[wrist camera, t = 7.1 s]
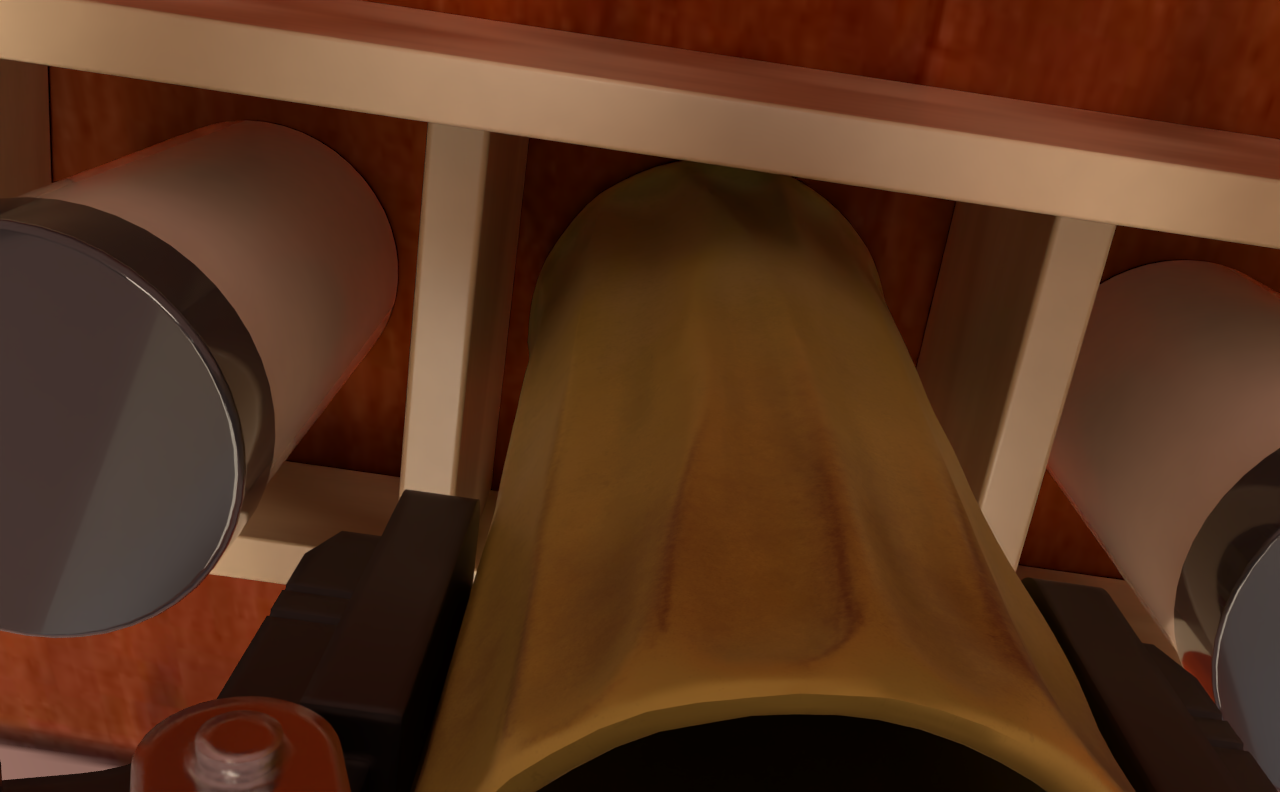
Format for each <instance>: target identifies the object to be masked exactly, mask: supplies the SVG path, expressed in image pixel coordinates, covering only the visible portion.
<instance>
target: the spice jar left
mask: <svg viewBox="0 0 1280 792" xmlns="http://www.w3.org/2000/svg"><path fill="white" fill-rule="evenodd" d="M397 284H398V260H397V252H396V245H395V241H394V237H393V234H392V230H391V227H390V224H389V222H388V219H387V217H386V214H385V212H384V210H383V208H382V206H381V204H380V203H379V201H378V199H377V197H376V195H375V194H374V192H373V191H372V190H371V188H370V187H369V186H368V184H367V183H366V181H365V180H364V179H363V178H362V176H361V175H360V174H359V173H358V172H357V171H356V170H355V169H354V168H353V167H352V166H351V165H350V164H349V163H348V162H347V161H346V160H344V159H343V158H342V157H341V156H340V155H339V154H337V153H336V152H335V151H333V150H332V149H330V148H329V147H327V146H326V145H324V144H323V143H321V142H320V141H318V140H316V139H314V138H312V137H310V136H308V135H306V134H304V133H302V132H299V131H296V130H294V129H291V128H288V127H285V126H282V125H277V124H272V123H268V122H261V121H249V120H241V121H226V122H221V123H215V124H210V125H207V126H204V127H201V128H198V129H195V130H192V131H190V132H187V133H184V134H182V135H179V136H176V137H174V138H171V139H168V140H166V141H163V142H160V143H158V144H155V145H152V146H150V147H147V148H144V149H142V150H139V151H136V152H134V153H131V154H128V155H126V156H123V157H120V158H118V159H115V160H112V161H110V162H107V163H104V164H102V165H99V166H96V167H94V168H91V169H88V170H86V171H83V172H80V173H78V174H75V175H72V176H70V177H67V178H64V179H62V180H59V181H56V182H54V183H51V184H48V185H46V186H43V187H40V188H38V189H35V190H32V191H30V192H27V193H24V194H22V195H19V196H16V197H14V198H0V631H6V632H11V633H16V634H21V635H26V636H38V637H50V638H64V637H84V636H91V635H97V634H104V633H109V632H112V631H116V630H119V629H123V628H126V627H130V626H133V625H136V624H138V623H141V622H143V621H145V620H148V619H150V618H152V617H154V616H157V615H159V614H161V613H162V612H164V611H165V610H167V609H169V608H170V607H172V606H174V605H175V604H177V603H178V602H180V601H181V600H182V599H184V598H185V597H186V596H187V595H188V594H189V593H191V592H192V591H193V590H194V589H195V588H197V587H198V586H199V585H200V584H201V582H202V581H203V580H204V579H205V578H206V577H207V576H208V574H209V573H210V572H211V571H212V570H213V569H214V568H215V566H216V565H217V564H218V562H219V561H220V560H221V558H222V557H223V556H224V554H225V553H226V552H227V550H228V549H229V548H230V546H231V545H232V544H233V542H234V541H235V540H236V538H237V537H238V536H239V534H240V533H241V532H242V530H243V529H244V528H245V526H246V524H247V523H248V521H249V520H250V518H251V517H252V515H253V513H254V512H255V510H256V509H257V507H258V505H259V502H260V500H261V498H262V495H263V493H264V491H265V488H266V486H267V484H268V483H269V481H270V480H271V479H272V477H273V476H274V475H275V473H276V472H277V471H278V470H279V468H280V467H281V466H282V464H283V463H284V462H285V460H286V459H287V458H288V456H289V455H290V454H291V453H292V451H293V450H294V449H295V447H296V446H297V445H298V443H299V442H300V441H301V440H302V438H303V437H304V436H305V434H306V433H307V432H308V430H309V429H310V428H311V426H312V425H313V424H314V423H315V421H316V420H317V419H318V417H319V416H320V415H321V413H322V412H323V411H324V410H325V408H326V407H327V406H328V404H329V403H330V402H331V400H332V399H333V398H334V397H335V395H336V394H337V393H338V391H339V390H340V389H341V387H342V386H343V385H344V383H345V382H346V381H347V380H348V378H349V377H350V376H351V374H352V373H353V372H354V370H355V369H356V368H357V367H358V365H359V364H360V363H361V361H362V360H363V359H364V357H365V356H366V355H367V353H368V352H369V351H370V350H371V348H372V347H373V346H374V344H375V343H376V341H377V340H378V338H379V337H380V335H381V334H382V332H383V330H384V329H385V326H386V324H387V322H388V320H389V317H390V315H391V312H392V309H393V305H394V302H395V298H396V291H397Z"/></svg>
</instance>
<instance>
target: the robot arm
mask: <svg viewBox="0 0 1280 792" xmlns="http://www.w3.org/2000/svg"><path fill="white" fill-rule="evenodd" d="M479 521H480V500H479V499H473V498H466V497H458V496H451V495H444V494H437V493H430V492H423V491H415V490H408V489H405V490H404V491H403V493H402V495H401V497H400V499H399V501H398V503H397V505H396V507H395V509H394V511H393V513H392V515H391V517H390V519H389V521H388V523H387V526H386V528H385V530H384V532H383V534H382V536H377V535H370V534H363V533H356V532H349V531H341V532H339V533H337V534H336V535H334V536H333V537H331V538H329V539H328V540H326V541H324V542H323V543H321V544H319V545H318V546H316V547H315V548H313V549H311V550H310V551H308V552H306V553H305V554H304V555H303V557H302V559H301V560H300V562H299V564H298V565H297V567H296V569H295V570H294V572H293V574H292V575H291V577H290V579H289V580H288V582H287V584H286V589H285V590H282V592H281V594H280V595H279V597H278V598H277V600H276V602H275V603H274V605H273V607H272V608H271V613H270V616H267V617H266V618H265V620H264V622H263V623H262V625H261V627H260V628H259V630H258V632H257V633H256V635H255V637H254V638H253V640H252V641H251V643H250V645H249V646H248V648H247V650H246V651H245V653H244V655H243V656H242V658H241V660H240V661H239V663H238V665H237V666H236V668H235V670H234V671H233V673H232V675H231V676H230V678H229V680H228V681H227V683H226V684H225V686H224V688H223V689H222V691H221V693H220V694H219V696H218V698H217V699H216V700H211V701H207V702H203V703H199V704H197V705H194V706H191V707H188V708H186V709H183V710H181V711H179V712H177V713H175V714H173V715H171V716H169V717H168V718H166V719H165V720H163V721H162V722H160V723H159V724H157V725H156V726H155V727H154V728H153V729H152V730H151V731H149V732H148V733H147V734H146V735H145V737H144V738H143V739H142V741H141V742H140V743H139V745H138V746H137V748H136V751H135V753H134V755H133V758H132V763H131V764H128V765H125V766H121V767H117V768H112V769H108V770H104V771H96V772H88V773H81V774H69V775H59V776H47V777H36V778H24V779H13V780H2V775H1V762H0V792H410V790H411V787H412V783H413V780H414V777H415V774H416V770H417V767H418V764H419V761H420V758H421V754H422V751H423V748H424V745H425V742H426V739H427V735H428V732H429V729H430V726H431V723H432V720H433V717H434V714H435V711H436V708H437V705H438V702H439V699H440V696H441V692H442V689H443V686H444V683H445V679H446V676H447V673H448V670H449V666H450V663H451V660H452V656H453V653H454V649H455V645H456V642H457V638H458V635H459V631H460V628H461V624H462V621H463V617H464V614H465V610H466V607H467V603H468V600H469V596H470V592H471V589H472V585H473V578H474V569H475V560H476V550H477V541H478V531H479ZM1021 582H1022V584H1023V585H1024V587H1025V588H1026V590H1027V592H1028V593H1029V595H1030V596H1031V598H1032V599H1033V601H1034V603H1035V604H1036V606H1037V607H1038V609H1039V611H1040V612H1041V614H1042V615H1043V617H1044V619H1045V620H1046V622H1047V624H1048V625H1049V627H1050V629H1051V630H1052V632H1053V634H1054V636H1055V637H1056V639H1057V641H1058V643H1059V645H1060V646H1061V648H1062V650H1063V652H1064V654H1065V656H1066V658H1067V660H1068V661H1069V663H1070V665H1071V667H1072V669H1073V671H1074V673H1075V675H1076V677H1077V679H1078V681H1079V684H1080V686H1081V688H1082V691H1083V693H1084V695H1085V698H1086V700H1087V702H1088V705H1089V707H1090V710H1091V712H1092V714H1093V717H1094V719H1095V722H1096V724H1097V726H1098V729H1099V731H1100V733H1101V735H1102V737H1103V738H1104V740H1105V742H1106V744H1107V746H1108V748H1109V750H1110V751H1111V753H1112V755H1113V757H1114V759H1115V760H1116V762H1117V763H1118V765H1119V767H1120V768H1121V770H1122V771H1123V773H1124V774H1125V776H1126V778H1127V779H1128V781H1129V782H1130V784H1131V785H1132V787H1133V788H1134V790H1135V791H1136V792H1278V791H1277V789H1276V788H1275V786H1274V785H1273V784H1272V782H1271V781H1270V780H1269V778H1268V777H1267V775H1266V774H1265V773H1264V771H1263V770H1262V768H1261V767H1260V766H1259V764H1258V763H1257V761H1256V760H1255V759H1254V757H1253V756H1252V755H1251V753H1250V752H1248V751H1244V750H1243V745H1244V743H1243V742H1242V741H1241V739H1240V738H1239V736H1238V735H1237V734H1236V732H1235V731H1234V729H1233V728H1232V727H1231V725H1230V724H1229V723H1228V721H1223V720H1222V713H1221V711H1220V710H1219V709H1218V707H1217V706H1216V704H1215V703H1214V702H1213V700H1212V699H1211V698H1210V696H1209V695H1208V693H1207V692H1206V691H1205V689H1204V688H1203V686H1202V685H1201V684H1200V682H1199V681H1198V679H1197V678H1196V677H1194V676H1193V675H1192V674H1191V673H1189V672H1188V671H1187V670H1186V669H1184V668H1183V667H1182V666H1180V665H1179V664H1178V663H1177V662H1175V661H1174V660H1173V659H1171V658H1170V657H1169V656H1168V655H1166V654H1165V653H1164V652H1163V651H1161V650H1160V649H1159V648H1157V647H1156V646H1155V645H1154V644H1147V643H1142V642H1141V641H1140V639H1139V638H1138V636H1137V635H1136V633H1135V632H1134V630H1133V629H1132V627H1131V626H1130V624H1129V623H1128V621H1127V620H1126V618H1125V617H1124V615H1123V614H1122V612H1121V611H1120V610H1119V608H1118V607H1117V605H1116V604H1115V602H1114V601H1113V599H1112V598H1111V596H1110V595H1109V594H1108V592H1107V591H1106V590H1104V589H1103V588H1100V587H1094V586H1087V585H1080V584H1072V583H1065V582H1058V581H1051V580H1044V579H1037V578H1030V577H1027V578H1024V579H1023V580H1021Z"/></svg>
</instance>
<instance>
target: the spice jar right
mask: <svg viewBox="0 0 1280 792" xmlns="http://www.w3.org/2000/svg"><path fill="white" fill-rule="evenodd" d="M1046 469H1047V470H1048V472H1049V473H1050V475H1051V476H1052V478H1053V479H1054V480H1055V482H1056V483H1057V485H1058V486H1059V487H1060V489H1061V490H1062V492H1063V493H1064V494H1065V496H1066V497H1067V499H1068V500H1069V502H1070V503H1071V504H1072V506H1073V507H1074V509H1075V510H1076V511H1077V513H1078V514H1079V516H1080V517H1081V519H1082V520H1083V521H1084V523H1085V524H1086V526H1087V527H1088V528H1089V530H1090V531H1091V533H1092V534H1093V535H1094V537H1095V538H1096V540H1097V541H1098V543H1099V544H1100V545H1101V547H1102V548H1103V550H1104V551H1105V552H1106V554H1107V555H1108V557H1109V558H1110V559H1111V561H1112V562H1113V564H1114V565H1115V567H1116V568H1117V569H1118V571H1119V572H1120V574H1121V575H1122V576H1123V578H1124V579H1125V581H1126V582H1127V584H1128V585H1129V586H1130V588H1131V589H1132V591H1133V592H1134V593H1135V595H1136V596H1137V598H1138V599H1139V600H1140V602H1141V603H1142V605H1143V606H1144V608H1145V609H1146V610H1147V612H1148V613H1149V615H1150V616H1151V617H1152V619H1153V620H1154V622H1155V623H1156V625H1157V626H1158V627H1159V629H1160V630H1161V632H1162V633H1163V634H1164V636H1165V637H1166V639H1167V640H1168V641H1169V643H1170V644H1171V646H1172V647H1173V649H1174V650H1175V651H1176V653H1177V654H1178V656H1179V659H1180V662H1181V664H1182V667H1183V668H1184V669H1186V670H1187V671H1188V672H1189V673H1191V674H1192V675H1193V676H1194V677H1196V678H1197V679H1198V681H1199V682H1200V684H1201V685H1202V686H1203V688H1204V689H1205V691H1206V692H1207V693H1208V695H1209V696H1210V698H1211V699H1212V700H1213V702H1214V703H1215V704H1216V706H1217V707H1218V709H1219V710H1220V711H1221V713H1222V720H1223V721H1228V723H1229V724H1230V725H1231V727H1232V728H1233V729H1234V731H1235V732H1236V734H1237V735H1238V736H1239V738H1240V739H1241V741H1242V742H1243V743H1244V745H1243V750H1244V751H1248V752H1250V753H1251V755H1252V756H1253V757H1254V759H1255V760H1256V761H1257V763H1258V764H1259V766H1260V767H1261V768H1262V770H1263V771H1264V773H1265V774H1266V775H1267V777H1268V778H1269V780H1270V781H1271V782H1272V784H1273V785H1274V786H1275V788H1276V789H1277V791H1278V792H1280V293H1278V292H1276V291H1274V290H1273V289H1271V288H1269V287H1267V286H1266V285H1264V284H1262V283H1260V282H1259V281H1257V280H1255V279H1253V278H1251V277H1250V276H1248V275H1246V274H1244V273H1242V272H1240V271H1238V270H1235V269H1232V268H1230V267H1227V266H1224V265H1220V264H1215V263H1211V262H1206V261H1194V260H1175V261H1164V262H1159V263H1153V264H1148V265H1145V266H1141V267H1138V268H1134V269H1131V270H1129V271H1126V272H1124V273H1122V274H1119V275H1117V276H1114V277H1112V278H1111V279H1109V280H1107V281H1105V282H1103V283H1102V284H1100V285H1099V287H1098V291H1097V294H1096V298H1095V301H1094V304H1093V308H1092V311H1091V315H1090V318H1089V322H1088V325H1087V329H1086V332H1085V335H1084V339H1083V342H1082V346H1081V349H1080V353H1079V356H1078V360H1077V363H1076V366H1075V370H1074V373H1073V377H1072V380H1071V384H1070V387H1069V391H1068V394H1067V397H1066V401H1065V404H1064V408H1063V411H1062V415H1061V418H1060V422H1059V425H1058V428H1057V432H1056V435H1055V439H1054V442H1053V446H1052V449H1051V453H1050V456H1049V459H1048V463H1047V466H1046Z"/></svg>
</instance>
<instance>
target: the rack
mask: <svg viewBox="0 0 1280 792" xmlns="http://www.w3.org/2000/svg"><path fill="white" fill-rule="evenodd" d="M48 66H54V67H60V68H67V69H74V70H81V71H87V72H94V73H101V74H107V75H114V76H121V77H127V78H134V79H141V80H148V81H154V82H161V83H168V84H174V85H181V86H188V87H195V88H201V89H208V90H215V91H221V92H228V93H235V94H242V95H248V96H255V97H262V98H268V99H275V100H282V101H289V102H295V103H302V104H309V105H315V106H322V107H329V108H335V109H342V110H349V111H356V112H362V113H369V114H376V115H382V116H389V117H396V118H403V119H409V120H416V121H423V122H428V125H427V138H426V151H425V164H424V177H423V189H422V202H421V215H420V228H419V241H418V254H417V266H416V279H415V292H414V305H413V318H412V331H411V344H410V356H409V369H408V382H407V395H406V408H405V421H404V433H403V446H402V459H401V472H400V477H394V476H387V475H380V474H373V473H366V472H359V471H352V470H345V469H338V468H331V467H324V466H317V465H310V464H303V463H296V462H289V461H285V462H284V463H283V464H282V466H281V467H280V468H279V470H278V471H277V472H276V473H275V475H274V476H273V477H272V479H271V480H270V481H269V483H268V484H267V486H266V488H265V491H264V493H263V495H262V498H261V500H260V502H259V505H258V507H257V509H256V510H255V512H254V513H253V515H252V517H251V518H250V520H249V521H248V523H247V524H246V526H245V528H244V529H243V530H242V532H241V533H240V534H239V536H238V537H237V538H236V540H235V541H234V542H233V544H232V545H231V546H230V548H229V549H228V550H227V552H226V553H225V554H224V556H223V557H222V558H221V560H220V561H219V562H218V564H217V565H216V566H215V568H214V569H213V570H212V571H211V572H210V573H209V574H214V575H221V576H228V577H235V578H242V579H249V580H257V581H264V582H271V583H278V584H285V585H286V584H287V582H288V580H289V579H290V577H291V575H292V574H293V572H294V570H295V569H296V567H297V565H298V564H299V562H300V560H301V559H302V557H303V555H304V554H305V553H306V552H308V551H310V550H311V549H313V548H315V547H316V546H318V545H319V544H321V543H323V542H324V541H326V540H328V539H329V538H331V537H333V536H334V535H336V534H337V533H339V532H341V531H349V532H356V533H363V534H370V535H377V536H382V534H383V532H384V530H385V528H386V526H387V523H388V521H389V519H390V517H391V515H392V513H393V511H394V509H395V507H396V505H397V503H398V501H399V499H400V497H401V495H402V493H403V491H404V490H405V489H408V490H415V491H423V492H430V493H437V494H444V495H451V496H458V497H466V498H473V499H479V500H480V521H479V531H478V541H477V550H476V560H475V569H474V578H473V582H474V579H475V575H476V572H477V569H478V565H479V562H480V559H481V556H482V552H483V549H484V546H485V543H486V540H487V537H488V533H489V530H490V526H491V522H492V519H493V515H494V512H495V507H496V502H497V497H498V492H499V491H493V490H490V489H491V486H492V477H493V468H494V458H495V449H496V440H497V431H498V421H499V412H500V403H501V394H502V385H503V375H504V366H505V357H506V348H507V338H508V329H509V320H510V311H511V302H512V292H513V283H514V274H515V265H516V255H517V246H518V237H519V228H520V218H521V209H522V200H523V191H524V182H525V172H526V163H527V154H528V145H529V137H530V138H537V139H543V140H550V141H557V142H564V143H570V144H577V145H584V146H590V147H597V148H604V149H611V150H617V151H624V152H631V153H637V154H644V155H651V156H658V157H664V158H671V159H678V160H684V161H691V162H698V163H705V164H711V165H718V166H725V167H731V168H738V169H745V170H751V171H758V172H765V173H772V174H778V175H785V176H792V177H798V178H805V179H812V180H819V181H825V182H832V183H839V184H845V185H852V186H859V187H866V188H872V189H879V190H886V191H892V192H899V193H906V194H913V195H919V196H926V197H933V198H939V199H946V200H953V201H956V205H955V209H954V213H953V217H952V222H951V226H950V230H949V234H948V238H947V242H946V247H945V251H944V255H943V259H942V263H941V267H940V272H939V276H938V280H937V284H936V288H935V292H934V297H933V301H932V305H931V309H930V313H929V317H928V322H927V326H926V330H925V334H924V338H923V342H922V347H921V351H920V355H919V359H918V363H917V367H916V370H917V372H918V375H919V377H920V380H921V382H922V385H923V387H924V390H925V393H926V395H927V398H928V400H929V402H930V404H931V407H932V409H933V411H934V413H935V415H936V417H937V419H938V421H939V423H940V425H941V427H942V429H943V431H944V432H945V434H946V436H947V438H948V440H949V442H950V444H951V446H952V448H953V450H954V452H955V454H956V456H957V459H958V461H959V463H960V465H961V468H962V470H963V472H964V474H965V477H966V479H967V481H968V484H969V486H970V488H971V490H972V492H973V495H974V497H975V499H976V501H977V503H978V505H979V507H980V509H981V511H982V513H983V515H984V517H985V519H986V521H987V523H988V525H989V527H990V528H991V530H992V532H993V534H994V536H995V538H996V540H997V542H998V543H999V545H1000V547H1001V549H1002V550H1003V552H1004V554H1005V556H1006V558H1007V559H1008V561H1009V563H1010V564H1011V566H1012V567H1013V569H1014V571H1015V572H1016V574H1017V576H1018V577H1019V579H1020V580H1023V579H1024V578H1027V577H1030V578H1037V579H1044V580H1051V581H1058V582H1065V583H1072V584H1080V585H1087V586H1094V587H1100V588H1103V589H1104V590H1106V591H1107V592H1108V594H1109V595H1110V596H1111V598H1112V599H1113V601H1114V602H1115V604H1116V605H1117V607H1118V608H1119V610H1120V611H1121V612H1122V614H1123V615H1124V617H1125V618H1126V620H1127V621H1128V623H1129V624H1130V626H1131V627H1132V629H1133V630H1134V632H1135V633H1136V635H1137V636H1138V638H1139V639H1140V641H1141V642H1142V643H1147V644H1154V645H1155V646H1156V647H1157V648H1159V649H1160V650H1161V651H1163V652H1164V653H1165V654H1166V655H1168V656H1169V657H1170V658H1171V659H1173V660H1174V661H1175V662H1177V663H1178V664H1179V665H1180V666H1182V664H1181V662H1180V659H1179V656H1178V654H1177V653H1176V651H1175V650H1174V649H1173V647H1172V646H1171V644H1170V643H1169V641H1168V640H1167V639H1166V637H1165V636H1164V634H1163V633H1162V632H1161V630H1160V629H1159V627H1158V626H1157V625H1156V623H1155V622H1154V620H1153V619H1152V617H1151V616H1150V615H1149V613H1148V612H1147V610H1146V609H1145V608H1144V606H1143V605H1142V603H1141V602H1140V600H1139V599H1138V598H1137V596H1136V595H1135V593H1134V592H1133V591H1132V589H1131V588H1130V586H1129V585H1128V584H1127V582H1126V581H1125V580H1118V579H1111V578H1104V577H1097V576H1090V575H1083V574H1076V573H1069V572H1062V571H1055V570H1048V569H1041V568H1034V567H1027V566H1020V565H1018V563H1019V559H1020V556H1021V552H1022V549H1023V546H1024V542H1025V539H1026V535H1027V532H1028V528H1029V525H1030V521H1031V518H1032V515H1033V511H1034V508H1035V504H1036V501H1037V497H1038V494H1039V490H1040V487H1041V484H1042V480H1043V477H1044V473H1045V470H1046V466H1047V463H1048V459H1049V456H1050V453H1051V449H1052V446H1053V442H1054V439H1055V435H1056V432H1057V428H1058V425H1059V422H1060V418H1061V415H1062V411H1063V408H1064V404H1065V401H1066V397H1067V394H1068V391H1069V387H1070V384H1071V380H1072V377H1073V373H1074V370H1075V366H1076V363H1077V360H1078V356H1079V353H1080V349H1081V346H1082V342H1083V339H1084V335H1085V332H1086V329H1087V325H1088V322H1089V318H1090V315H1091V311H1092V308H1093V304H1094V301H1095V298H1096V294H1097V291H1098V287H1099V284H1100V280H1101V277H1102V273H1103V270H1104V267H1105V263H1106V260H1107V256H1108V253H1109V249H1110V246H1111V242H1112V239H1113V236H1114V232H1115V229H1116V225H1121V226H1127V227H1134V228H1141V229H1147V230H1154V231H1161V232H1167V233H1174V234H1181V235H1188V236H1194V237H1201V238H1208V239H1214V240H1221V241H1228V242H1235V243H1241V244H1248V245H1255V246H1261V247H1268V248H1275V249H1280V139H1275V138H1268V137H1261V136H1255V135H1248V134H1242V133H1235V132H1228V131H1222V130H1215V129H1209V128H1202V127H1195V126H1189V125H1182V124H1175V123H1169V122H1162V121H1156V120H1149V119H1142V118H1136V117H1129V116H1123V115H1116V114H1109V113H1103V112H1096V111H1089V110H1083V109H1076V108H1070V107H1063V106H1056V105H1050V104H1043V103H1037V102H1030V101H1023V100H1017V99H1010V98H1003V97H997V96H990V95H984V94H977V93H970V92H964V91H957V90H950V89H944V88H937V87H931V86H924V85H917V84H911V83H904V82H898V81H891V80H884V79H878V78H871V77H864V76H858V75H851V74H845V73H838V72H831V71H825V70H818V69H812V68H805V67H798V66H792V65H785V64H778V63H772V62H765V61H759V60H752V59H745V58H739V57H732V56H726V55H719V54H712V53H706V52H699V51H692V50H686V49H679V48H673V47H666V46H659V45H653V44H646V43H640V42H633V41H626V40H620V39H613V38H606V37H600V36H593V35H587V34H580V33H573V32H567V31H560V30H553V29H547V28H540V27H534V26H527V25H520V24H514V23H507V22H501V21H494V20H487V19H481V18H474V17H467V16H461V15H454V14H448V13H441V12H434V11H428V10H421V9H415V8H408V7H401V6H395V5H388V4H381V3H375V2H368V1H362V0H0V198H14V197H16V196H19V195H22V194H24V193H27V192H30V191H32V190H35V189H38V188H40V187H43V186H46V185H48V184H51V183H52V181H51V152H50V123H49V93H48Z"/></svg>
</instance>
